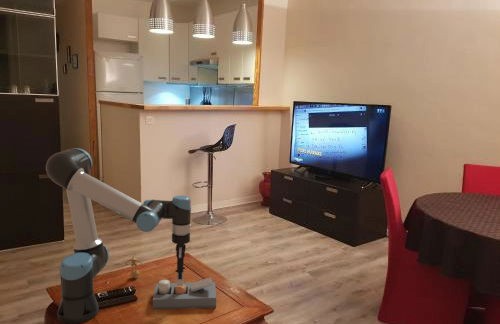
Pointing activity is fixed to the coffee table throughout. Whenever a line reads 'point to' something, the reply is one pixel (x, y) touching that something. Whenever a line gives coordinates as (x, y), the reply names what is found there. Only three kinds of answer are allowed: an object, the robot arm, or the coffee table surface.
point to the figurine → (135, 272)
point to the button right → (180, 289)
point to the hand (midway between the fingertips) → (180, 284)
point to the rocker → (201, 284)
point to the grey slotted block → (185, 298)
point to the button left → (164, 287)
